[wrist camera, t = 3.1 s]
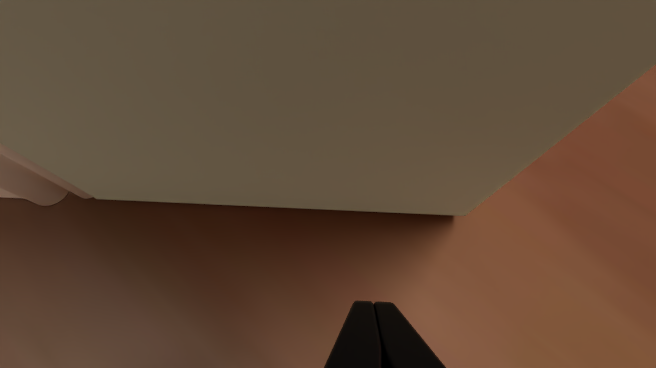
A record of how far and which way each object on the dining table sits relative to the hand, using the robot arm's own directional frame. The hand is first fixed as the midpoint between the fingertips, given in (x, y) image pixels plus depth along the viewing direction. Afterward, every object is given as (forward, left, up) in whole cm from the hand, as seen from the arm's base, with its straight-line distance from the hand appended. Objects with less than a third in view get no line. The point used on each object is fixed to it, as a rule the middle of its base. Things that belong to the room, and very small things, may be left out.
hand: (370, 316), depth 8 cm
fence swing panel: (+5, +4, -7) cm, 9 cm away
